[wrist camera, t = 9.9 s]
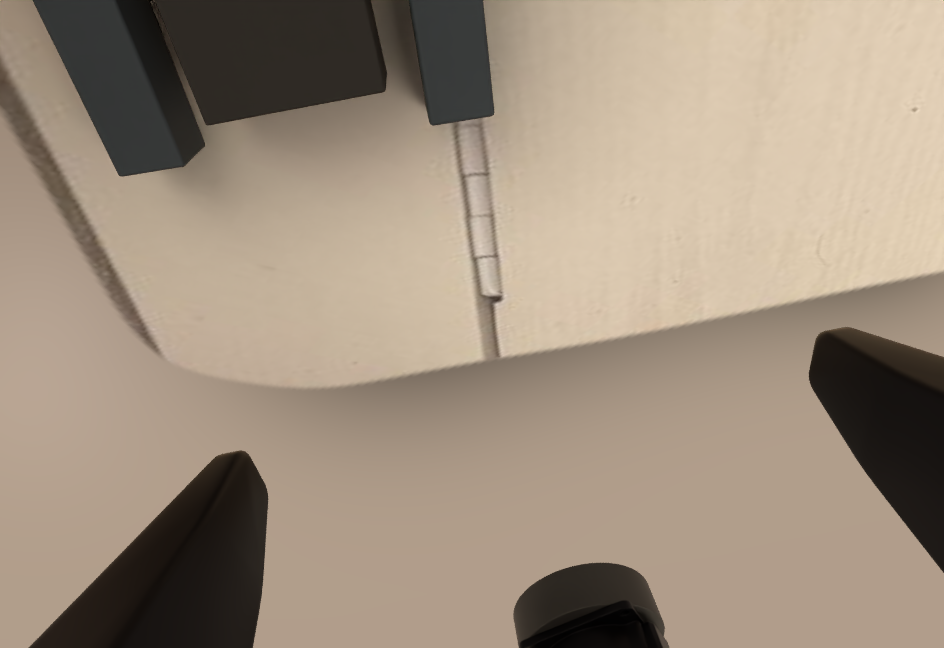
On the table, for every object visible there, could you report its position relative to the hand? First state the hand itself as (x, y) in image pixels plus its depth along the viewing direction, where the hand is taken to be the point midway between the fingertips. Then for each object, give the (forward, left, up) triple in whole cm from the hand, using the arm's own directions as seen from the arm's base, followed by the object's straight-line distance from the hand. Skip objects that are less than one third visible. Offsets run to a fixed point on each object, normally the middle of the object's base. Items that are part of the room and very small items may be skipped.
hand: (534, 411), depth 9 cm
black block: (-2, +7, -11) cm, 13 cm away
